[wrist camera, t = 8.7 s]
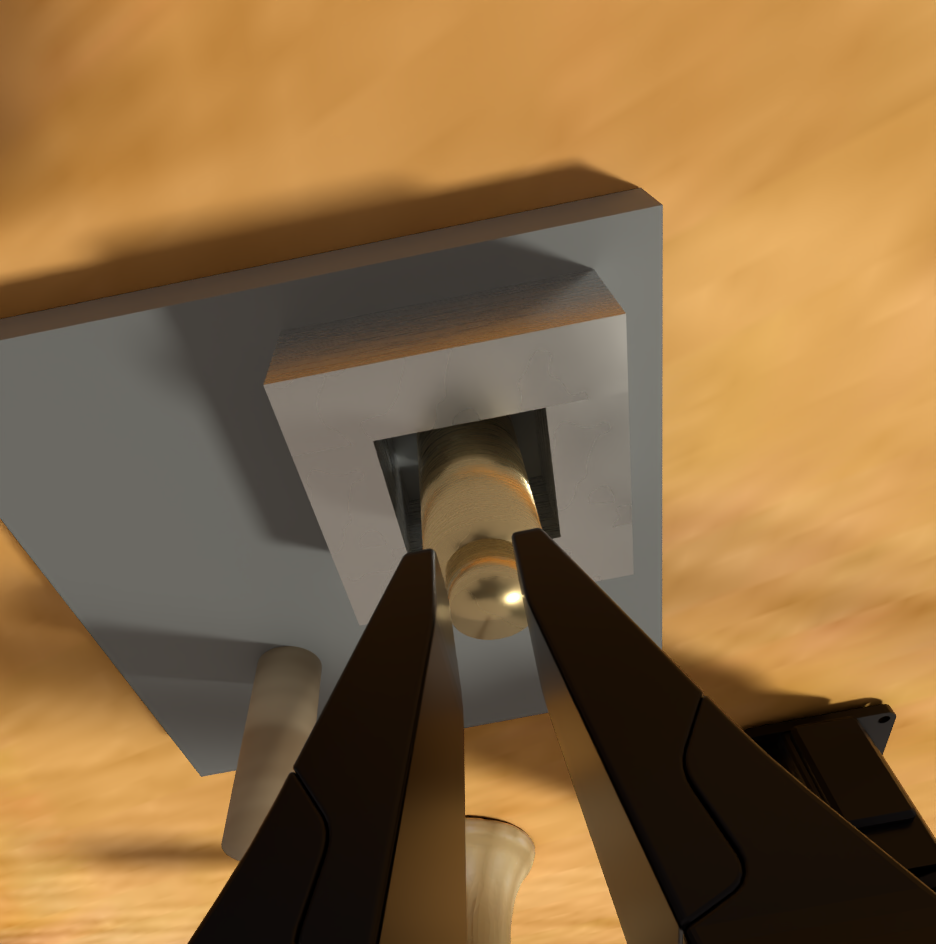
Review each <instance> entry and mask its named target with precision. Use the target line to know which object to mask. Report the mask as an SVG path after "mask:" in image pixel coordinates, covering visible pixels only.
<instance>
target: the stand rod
mask: <svg viewBox="0 0 936 944" xmlns="http://www.w3.org/2000/svg"><path fill="white" fill-rule="evenodd" d="M321 671H322V664H321V661H320V660H319V658H318V657H317V656H316V655H315V654H314V653H312V652H311V651H309V650H306V649H304V648H300V647H295V646H282V647H277V648H273V649H271V650H269V651H267V652H265V653H264V654H263V655H262V656H261V657H260V659H259V660H258V664H257V669H256V674H255V679H254V684H253V689H252V694H251V699H250V704H249V709H248V714H247V719H246V724H245V729H244V734H243V739H242V744H241V749H240V754H239V759H238V764H237V769H236V774H235V779H234V784H233V789H232V794H231V799H230V804H229V809H228V814H227V819H226V824H225V829H224V834H223V839H222V849H223V851H224V852H225V853H226V854H227V855H228V856H230V857H231V858H233V859H236V860H238V861H241V859H242V857H243V856H244V854H245V853H246V851H247V849H248V848H249V846H250V844H251V842H252V841H253V839H254V837H255V835H256V833H257V832H258V830H259V828H260V826H261V825H262V823H263V821H264V819H265V817H266V816H267V814H268V812H269V810H270V808H271V807H272V805H273V803H274V801H275V799H276V797H277V795H278V794H279V792H280V790H281V788H282V786H283V784H284V782H285V780H286V778H287V776H288V774H289V773H290V772H294V770H293V765H294V763H295V762H296V760H297V758H298V756H299V754H300V752H301V750H302V748H303V746H304V744H305V742H306V741H307V739H308V737H309V735H310V733H311V731H312V729H313V727H314V725H315V723H316V719H317V709H318V700H319V690H320V681H321Z"/></svg>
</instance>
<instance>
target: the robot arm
mask: <svg viewBox="0 0 936 944" xmlns="http://www.w3.org/2000/svg"><path fill="white" fill-rule="evenodd" d="M511 539H512V545H513V551H514V556H515V562H516V568H517V573H518V579H519V584H520V589H521V594H522V599H523V604H524V608H525V613H526V618H527V623H528V628H529V633H530V638H531V642H532V647H533V652H534V657H535V662H536V667H537V672H538V676H539V681H540V685H541V689H542V693H543V696H544V699H545V703H546V706H547V709H548V712H549V715H550V718H551V721H552V724H553V727H554V730H555V733H556V736H557V739H558V741H559V744H560V747H561V750H562V753H563V756H564V759H565V762H566V765H567V768H568V771H569V774H570V777H571V780H572V783H573V786H574V789H575V791H576V794H577V797H578V800H579V803H580V806H581V809H582V812H583V815H584V818H585V821H586V824H587V827H588V830H589V833H590V836H591V838H592V841H593V844H594V847H595V850H596V853H597V856H598V859H599V862H600V865H601V868H602V871H603V874H604V877H605V880H606V883H607V886H608V888H609V891H610V894H611V897H612V900H613V903H614V906H615V909H616V912H617V915H618V918H619V921H620V924H621V927H622V930H623V933H624V936H625V938H626V941H627V944H936V838H935V837H934V835H933V834H932V832H931V830H930V829H929V827H928V826H927V824H926V823H925V821H924V820H923V818H922V816H921V815H920V813H919V812H918V810H917V809H916V807H915V805H914V804H913V802H912V801H911V799H910V798H909V796H908V795H907V793H906V791H905V790H904V788H903V787H902V785H901V784H900V782H899V780H898V779H897V777H896V776H895V774H894V773H893V771H892V770H891V768H890V766H889V765H888V763H887V762H886V760H885V759H884V757H883V756H882V755H883V752H884V749H885V747H886V744H887V741H888V738H889V736H890V733H891V730H892V727H893V724H894V722H895V719H896V714H895V713H894V711H893V710H892V709H891V707H890V706H889V705H886V704H881V705H875V706H870V707H864V708H859V709H854V710H848V711H843V712H837V713H832V714H826V715H821V716H815V717H810V718H804V719H799V720H793V721H788V722H782V723H777V724H771V725H766V726H760V727H755V728H750V729H747V730H745V731H743V730H742V729H741V728H740V727H739V726H738V725H737V724H736V723H734V722H733V721H732V720H731V719H730V718H729V717H728V716H727V715H726V714H725V713H724V712H723V711H722V710H721V709H720V708H719V707H718V705H717V704H716V703H715V702H714V701H713V700H712V699H711V698H710V697H708V696H704V697H703V694H704V693H703V691H702V690H701V689H700V688H699V687H698V686H697V685H696V684H695V683H694V682H693V681H692V680H691V679H690V678H689V677H688V676H687V675H686V674H685V673H684V672H683V671H682V670H681V669H680V668H679V666H678V665H677V664H676V663H675V662H674V661H673V660H672V659H671V658H670V657H669V656H668V655H667V654H666V653H665V652H664V651H663V650H662V649H661V648H660V647H659V646H658V645H657V644H656V643H655V642H654V641H653V640H652V639H651V638H650V637H649V636H648V635H647V634H646V633H645V632H644V631H643V630H642V629H641V628H640V627H639V626H638V625H637V624H636V623H635V622H634V621H633V620H632V619H631V618H630V617H629V616H628V615H627V614H626V613H625V612H624V611H623V610H622V609H621V608H620V607H619V606H618V605H617V604H616V603H615V602H614V601H613V600H612V599H611V598H610V597H609V596H608V595H607V594H606V593H605V592H604V591H603V590H602V589H601V588H600V587H599V586H598V585H597V584H596V583H595V582H594V581H593V580H592V579H591V578H590V577H589V576H588V575H587V574H586V573H585V572H584V571H583V570H582V569H581V567H580V566H579V565H578V564H577V563H576V562H575V561H574V560H573V559H572V558H571V557H570V556H569V555H568V554H567V553H566V552H565V551H564V550H563V549H562V548H561V547H560V546H559V545H558V544H557V543H556V542H555V541H554V540H553V539H552V538H551V537H550V536H549V535H548V534H547V533H546V532H545V531H544V530H542V529H541V528H533V529H528V530H523V531H517V532H514V533H513V534H512V536H511ZM293 770H294V772H290V773H289V774H288V776H287V778H286V780H285V782H284V784H283V786H282V788H281V790H280V792H279V794H278V795H277V797H276V799H275V801H274V803H273V805H272V807H271V808H270V810H269V812H268V814H267V816H266V817H265V819H264V821H263V823H262V825H261V826H260V828H259V830H258V832H257V833H256V835H255V837H254V839H253V841H252V842H251V844H250V846H249V848H248V849H247V851H246V853H245V854H244V856H243V857H242V859H241V861H240V862H239V864H238V865H237V867H236V869H235V870H234V872H233V873H232V875H231V877H230V878H229V880H228V881H227V883H226V885H225V886H224V888H223V889H222V891H221V893H220V894H219V896H218V898H217V899H216V901H215V902H214V904H213V905H212V907H211V908H210V910H209V911H208V913H207V914H206V916H205V918H204V919H203V921H202V922H201V924H200V925H199V927H198V928H197V930H196V931H195V933H194V934H193V936H192V937H191V939H190V941H189V942H188V944H467V913H466V842H465V771H464V716H463V701H462V692H461V684H460V677H459V670H458V662H457V655H456V648H455V641H454V634H453V626H452V619H451V612H450V605H449V599H448V594H447V590H446V586H445V582H444V579H443V575H442V572H441V568H440V564H439V561H438V557H437V554H436V552H435V551H434V550H433V549H431V548H429V549H424V550H418V551H413V552H408V553H406V554H405V555H404V556H403V557H402V559H401V561H400V563H399V565H398V567H397V569H396V571H395V573H394V574H393V576H392V578H391V580H390V582H389V584H388V586H387V588H386V590H385V592H384V594H383V595H382V597H381V599H380V601H379V603H378V605H377V607H376V609H375V611H374V613H373V615H372V616H371V618H370V620H369V622H368V624H367V626H366V628H365V630H364V632H363V634H362V636H361V638H360V639H359V641H358V643H357V645H356V647H355V649H354V651H353V653H352V655H351V657H350V659H349V660H348V662H347V664H346V666H345V668H344V670H343V672H342V674H341V676H340V678H339V680H338V681H337V683H336V685H335V687H334V689H333V691H332V693H331V695H330V697H329V699H328V701H327V702H326V704H325V706H324V708H323V710H322V712H321V714H320V716H319V718H318V720H317V721H316V723H315V725H314V727H313V729H312V731H311V733H310V735H309V737H308V739H307V741H306V742H305V744H304V746H303V748H302V750H301V752H300V754H299V756H298V758H297V760H296V762H295V763H294V765H293Z"/></svg>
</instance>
